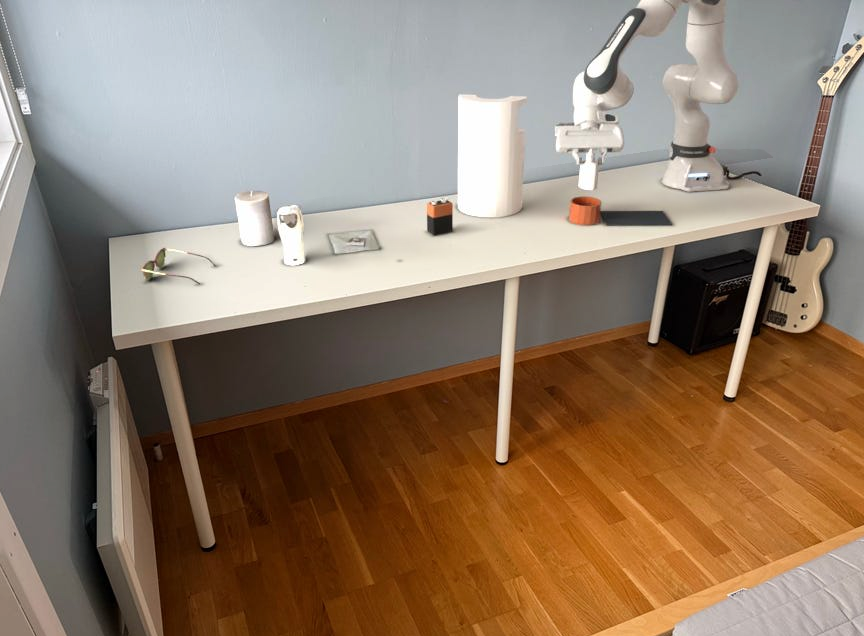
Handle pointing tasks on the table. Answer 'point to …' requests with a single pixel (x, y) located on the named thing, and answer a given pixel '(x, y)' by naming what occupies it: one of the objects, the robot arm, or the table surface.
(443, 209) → the battery
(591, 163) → the eye dropper bottle
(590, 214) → the cup
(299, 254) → the white handheld device
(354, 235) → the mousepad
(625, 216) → the mat
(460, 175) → the white curved half cylinder
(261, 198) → the pillar candle
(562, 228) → the table surface
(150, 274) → the sunglasses
